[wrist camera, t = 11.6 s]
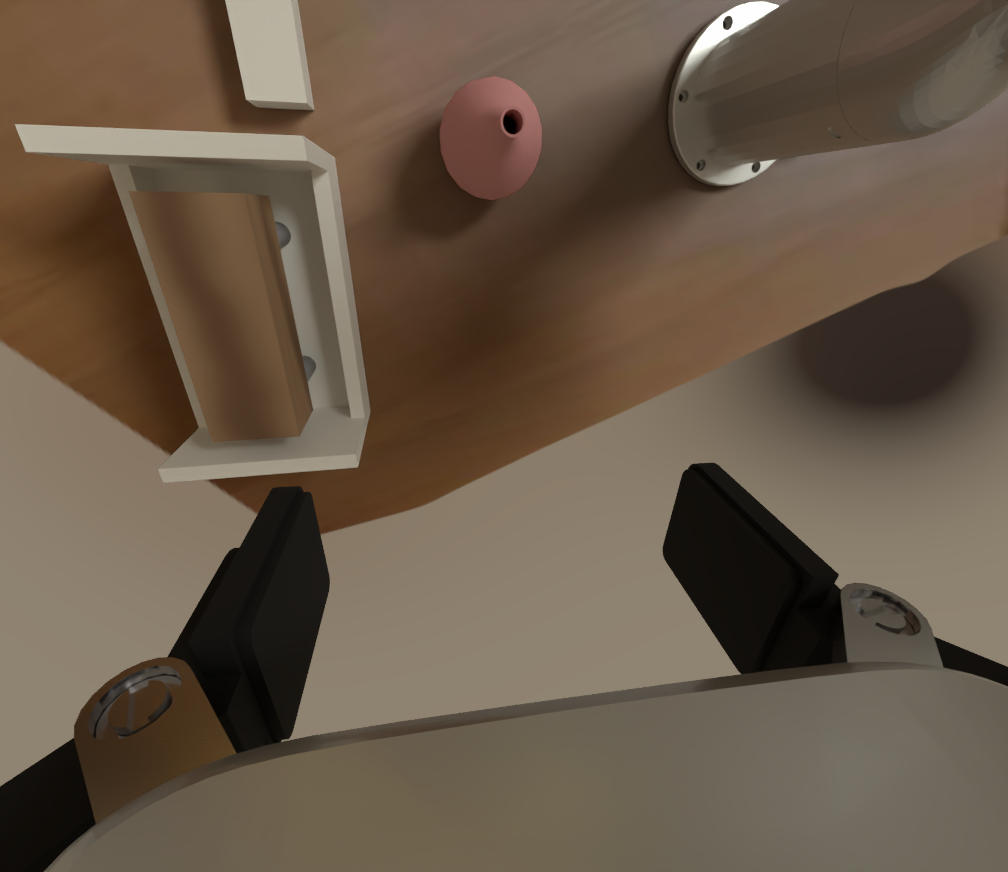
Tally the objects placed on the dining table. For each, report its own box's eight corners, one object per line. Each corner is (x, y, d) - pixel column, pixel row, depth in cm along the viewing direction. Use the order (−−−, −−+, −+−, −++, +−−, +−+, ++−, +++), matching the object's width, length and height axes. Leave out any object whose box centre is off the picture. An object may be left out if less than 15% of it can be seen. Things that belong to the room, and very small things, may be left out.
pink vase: (540, 180, 38) (589, 168, 27) (460, 215, 38) (478, 216, 27) (510, 73, 34) (553, 11, 24) (421, 112, 34) (424, 68, 24)
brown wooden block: (269, 196, 30) (244, 193, 25) (313, 410, 37) (299, 436, 33) (172, 194, 29) (128, 190, 24) (236, 414, 36) (212, 442, 32)
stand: (334, 157, 34) (302, 135, 25) (370, 411, 44) (358, 467, 35) (136, 151, 32) (14, 124, 22) (221, 420, 42) (163, 483, 32)
